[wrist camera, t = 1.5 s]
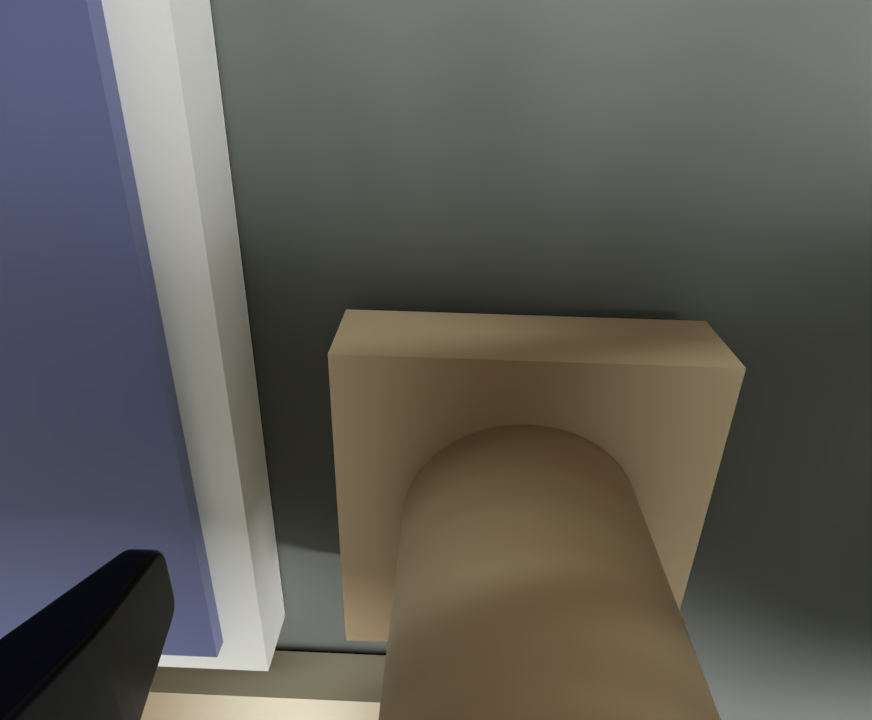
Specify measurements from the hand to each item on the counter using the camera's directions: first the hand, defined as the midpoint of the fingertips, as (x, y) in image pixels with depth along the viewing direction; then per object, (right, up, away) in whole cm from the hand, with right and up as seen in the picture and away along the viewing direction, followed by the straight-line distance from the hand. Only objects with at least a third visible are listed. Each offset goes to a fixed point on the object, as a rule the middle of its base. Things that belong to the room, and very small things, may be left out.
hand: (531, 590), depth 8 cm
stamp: (0, +1, +3) cm, 3 cm away
